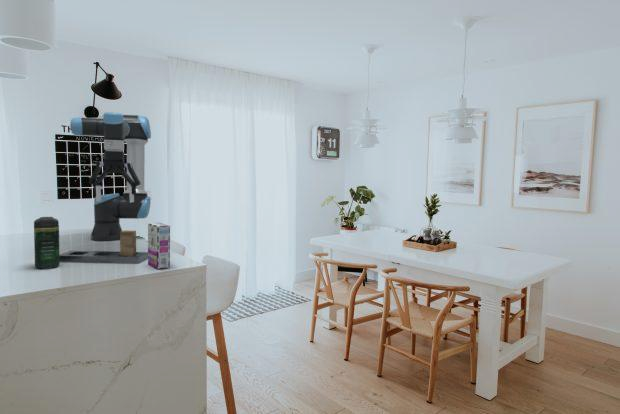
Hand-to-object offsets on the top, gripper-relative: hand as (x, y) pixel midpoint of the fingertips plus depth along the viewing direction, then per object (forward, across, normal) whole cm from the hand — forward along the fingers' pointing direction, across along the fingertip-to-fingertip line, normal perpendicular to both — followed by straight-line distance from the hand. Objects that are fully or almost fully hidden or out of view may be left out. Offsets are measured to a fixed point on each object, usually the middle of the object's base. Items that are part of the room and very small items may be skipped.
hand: (115, 201), depth 171 cm
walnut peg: (+23, +8, -9) cm, 26 cm away
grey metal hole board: (+23, -2, -9) cm, 24 cm away
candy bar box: (+23, +23, -17) cm, 37 cm away
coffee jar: (+23, -17, -20) cm, 35 cm away
